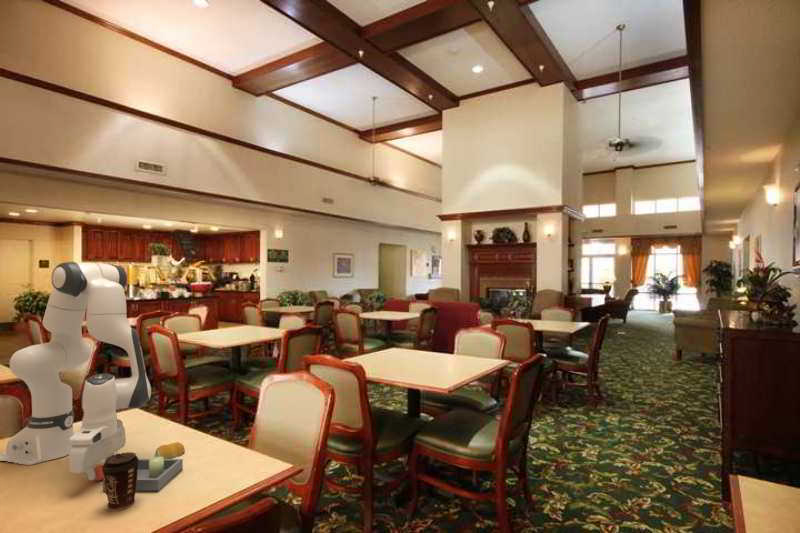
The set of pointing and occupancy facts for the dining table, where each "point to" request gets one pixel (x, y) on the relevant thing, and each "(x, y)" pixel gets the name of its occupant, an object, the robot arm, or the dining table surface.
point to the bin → (156, 484)
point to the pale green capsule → (156, 467)
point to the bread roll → (170, 450)
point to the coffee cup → (120, 480)
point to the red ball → (99, 473)
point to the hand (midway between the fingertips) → (99, 474)
